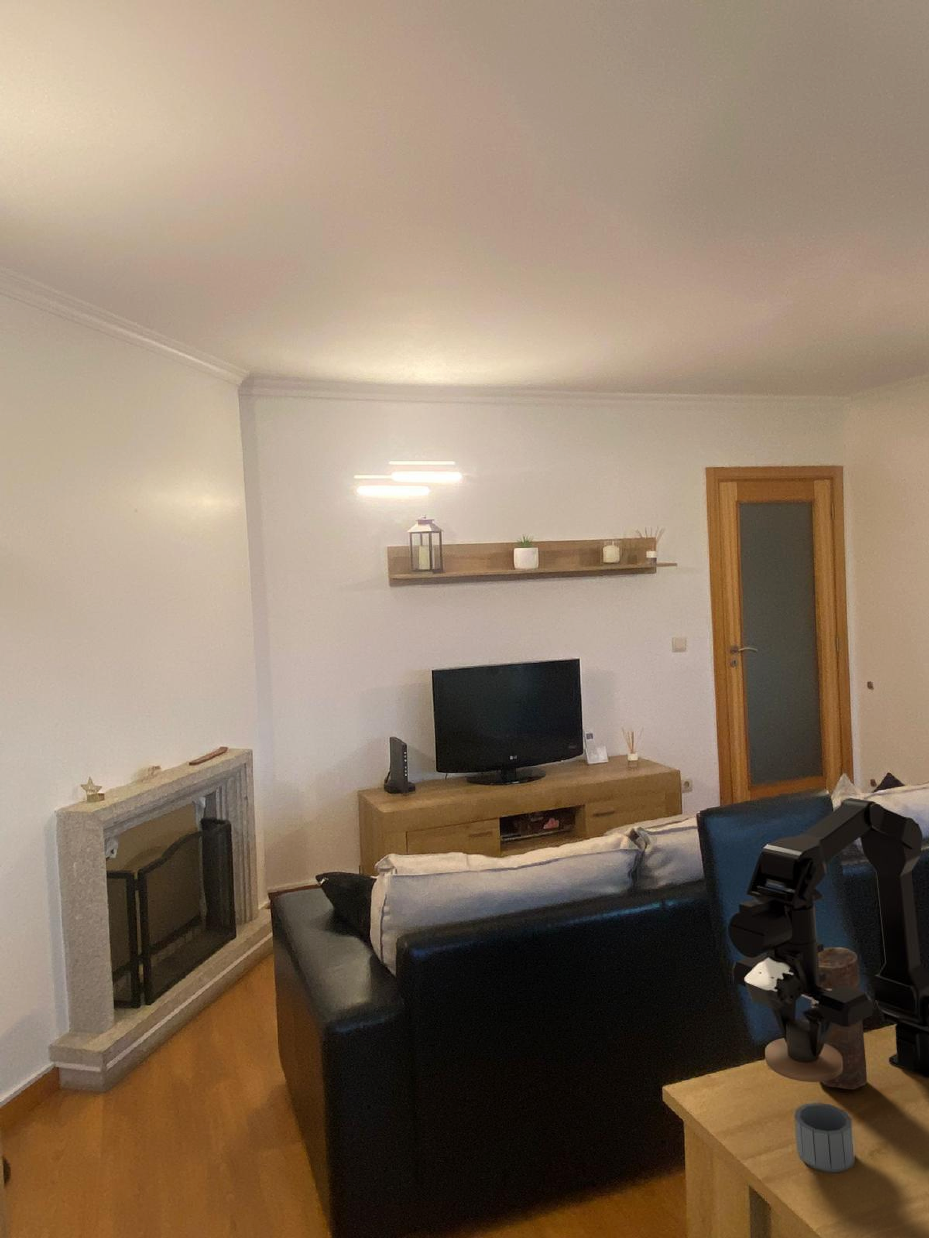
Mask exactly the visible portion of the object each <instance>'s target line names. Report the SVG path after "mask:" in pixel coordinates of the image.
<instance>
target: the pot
mask: <svg viewBox="0 0 929 1238" xmlns="http://www.w3.org/2000/svg"><path fill="white" fill-rule="evenodd" d="M794 1126H795V1127H794V1129H795V1141H796V1142H795V1143H796V1150H797V1154H798V1156H799V1158H800V1160H801V1161H803V1162H804V1163H805V1164H806V1165H807V1166H809V1167H810V1168H813V1169H815V1170H817V1171H821V1172H826V1173H842V1172H846V1171H849V1170H850V1169H852V1167H853V1166H854V1164H855V1161H856V1160H855V1143H854V1132H853V1130H854V1129H853V1119H852V1118H851V1117H850V1116H849V1114H848V1113H847V1111H845V1110H843V1109H841V1108H840V1107H837V1106H835V1105H832V1104H829V1103H823V1102H809V1103H804V1104H801V1105H800V1106H799V1107H797V1108H796V1109H795V1112H794Z"/></svg>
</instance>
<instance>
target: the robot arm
mask: <svg viewBox="0 0 929 1238" xmlns="http://www.w3.org/2000/svg"><path fill="white" fill-rule="evenodd" d="M923 837H924V836H923V831H922V830H921V827H920V824H919V823H918V822H916V821H915V820H914V819H913V818H912V817H909V816H908V817H906V816H903V815H901V814H899V813H897V812H894V811H892V810H889V809H887V808H885V807H883V805H881V804H879V803H876V801H872V800H866V799H860V798H859V799H858V798H851V797H849V798H846V799H843V801H842V802H840V806H839V807H837V808H836V809H835V810H833V811H832V812H830V813H829V814H828V815H827V816H825V817H824V818H822V819H821V820H819V821H818V822H817V823H815V824H814V825H813V826H811V827H809V828H808V829H807V830H806V831H804V832H802V833H801V834H798V835H794V836H787V837H781V838H779V839H776V840H773V841H771V842H769V843H767V844H766V845H765V846H764V847H763V848H762V849H761V851H760V854H759V857H758V860H757V862H756V865H755V868H754V871H753V873H752V877H751V879H750V882H749V886H748V888H747V891H746V895H747V896H749V897H752V898H754V899H752V900H749V901H743V902H740V903H739V904H738V912H737V913H734V914H733V915H732V917H731V918H730V920H729V924H728V925H727V931H728V937H729V940H730V942H731V943H732V945H733V947H734V948H735V950H737V951H738V952H739V953H740V954H741V955H743V956H745V957H744V958H742V959H740V960H737V961H736V962H735V963H734V965H733V967H732V980H733V983H735V984H737V985H740V986H743V987H745V988H747V992H748V995H749V997H750V999H751V1001H752V1002H754V1003H758V1004H761V1005H762V1006H763V1005H764V1006H765V1007H767V1008H768V1009H770V1010H771V1012H772V1014H773V1016H774V1018H775V1020H776V1022H777V1024H778V1027H779V1030H780V1032H781V1034H782V1036H783V1038H784V1039H785V1042H786V1043H787V1037H786V1023H787V1022H788V1021H790V1020H796V1010H797V1009H796V1007H797V1004H796V1003H797V1001H798V999H800V997H802V998H806V999H808V1000H810V1001H811V1000H812V1008H811V1007H810V1008H808V1009H807V1010H805V1011H803V1012H802V1015H803V1016H804V1018H806V1020H807V1021H809V1026H810V1038H811V1048H812V1052H813V1056H815V1057H816V1056H818V1055H820V1054H821V1051H822V1049H823V1047H824V1044H825V1042H826V1039H827V1037H828V1034H829V1032H830V1030H831V1027H832V1025H833V1023H835V1024H837V1025H840V1026H842V1027H849V1026H851V1025H853V1024H855V1023H857V1022H859V1021H861V1020H862V1021H863V1020H866V1019H867V1018H869V1017H871V1016H872V1015H873V1004H872V1000H871V997H870V996H869V995H868V994H867V993H866V992H863V991H861V990H860V991H858V990H855V989H853V988H850V987H847V986H844V985H841V986H839V987H837V988H835V989H824V988H821V987H820V983H821V982H824V981H826V973H824V972H821V971H819V962H818V953H820V952H822V951H824V949H825V948H824V943H823V942H819V941H818V939H817V938H818V936H817V925H816V912H815V911H816V910H815V909H816V908H815V902H816V901H818V900H821V899H823V893H822V892H820V891H819V890H818V889H816V887H817V886H818V885H819V884H820V882H821V881H823V879H824V878H825V877H826V875H827V864H828V863H829V862H830V861H831V860H832V859H833V858H835V857H836V856H837V855H839V854H841V852H843V851H844V850H846V848H848V847H849V846H850V845H852V844H853V843H854V842H856V841H857V840H858V839H859V840H860V844H861V849H862V853H863V855H864V857H865V858H866V860H867V861H868V863H869V864H870V865H871V867H872V868H873V869H874V871H875V873H876V874H875V875H876V882H877V894H878V903H879V913H880V922H881V923H880V924H881V934H882V941H883V952H884V964H883V966H882V967H881V969H880V970H879V972H878V974H876V975H874V976H873V979H872V982H873V987H874V997H873V998H874V999H873V1000H874V1001H876V1005H877V1007H878V1011H879V1013H880V1017H881V1019H882V1020H883V1021H888V1022H890V1023H892V1024H895V1027H894V1030H895V1049H896V1053H894V1054H893V1055H891V1056H889V1057H888V1062H889V1063H890V1064H892V1065H895V1066H897V1067H900V1068H902V1069H904V1070H908V1071H910V1072H912V1073H914V1074H916V1075H919V1076H921V1077H924V1078H926V1079H927V1078H928V1079H929V973H928V972H927V969H926V968H925V967H924V966H923V964H922V963H921V955H920V954H921V953H920V944H919V936H918V935H919V934H918V926H917V925H918V924H917V923H918V922H917V915H916V906H915V895H914V894H915V893H914V885H913V876H912V875H913V873H912V871H913V869H914V867H916V864H917V862H918V861H919V859H920V858H921V856H922V843H923ZM766 884H769V885H773V886H776V887H781V888H785V889H786V890H784V889H781V888H780V889H779V888H775V887H771V886H768V885H766ZM787 889H788V890H787ZM765 954H766V955H765ZM764 955H765V956H764Z"/></svg>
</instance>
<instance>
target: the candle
mask: <svg viewBox="0 0 929 1238" xmlns="http://www.w3.org/2000/svg"><path fill="white" fill-rule="evenodd" d="M818 962H819V971H821V972H824V973H826V981H824V982H821V983H820V987H821V988H824V989H835V988H837V987H839V986H841V985H844V986H847V987H850V988H853V989H855V990H858V991H861V987H860V986H861V985H860V973H859V972H860V971H859V959H858V955H857V953H856V952H854V951H852V950H850V949H849V948H845V947H825V948H824V951H822V952H820V953H818ZM811 1008H812V1000H810V1009H811ZM863 1024H864V1023H863V1020H861V1021H859V1022H857V1023H855V1024H853V1025H851V1026H849V1027H842V1026H840V1025H837V1024H835V1023H833V1025H832V1027H831V1030H830V1032H829V1034H828V1037H827V1039H826V1042H825V1043H826V1044H828V1045H830V1046H832V1047H833V1048H835V1049H836V1050H837V1051H838V1052H839V1053H840V1054H841V1056H842V1060H843V1071H842V1073H841V1074H840V1075H839V1076H838V1077H836V1078H834V1079H831V1080H828V1081H823V1082H821V1083H822V1084H823V1085H824V1086H826V1087H831V1088H837V1089H838V1088H839V1089H846V1090H854V1089H855V1090H856V1089H858V1088H860V1087H862V1086H865V1085H866V1083H867V1081H868V1076H867V1061H866V1060H867V1059H866V1049H865V1047H866V1046H865V1038H864V1025H863Z"/></svg>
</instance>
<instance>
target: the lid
mask: <svg viewBox="0 0 929 1238" xmlns="http://www.w3.org/2000/svg"><path fill="white" fill-rule="evenodd" d="M786 1037H787V1043H786V1042H785V1039H784V1037H783V1038H782V1037H781V1038H778V1039H775V1040H773V1041H771V1042H770V1043H769V1044H767V1045H766V1047H765V1050H764V1055H765V1062H766V1064H767V1067H768V1068H770V1069H771V1070H772V1071H773V1072H775V1073H776V1074H778V1075H780V1076H781V1077H784V1078H787V1079H790V1080H794V1081H799V1082H806V1083H822V1082H823V1081H828V1080H831V1079H834V1078H836V1077H838V1076H839V1075H840V1074H841V1073H842V1071H843V1060H842V1056H841V1054H840V1053H839V1052H838V1051H837V1050H836V1049H835V1048H833V1047H832V1046H830V1045H828V1044H826V1043H825V1044H824V1047H823V1049H822V1051H821V1054H820V1055H818V1056H816V1057H815V1056H813V1052H812V1048H811V1038H810V1026H809V1020H807V1019H806V1020H805V1019H796V1018H795V1020H790V1021H788V1022H787V1023H786Z"/></svg>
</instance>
